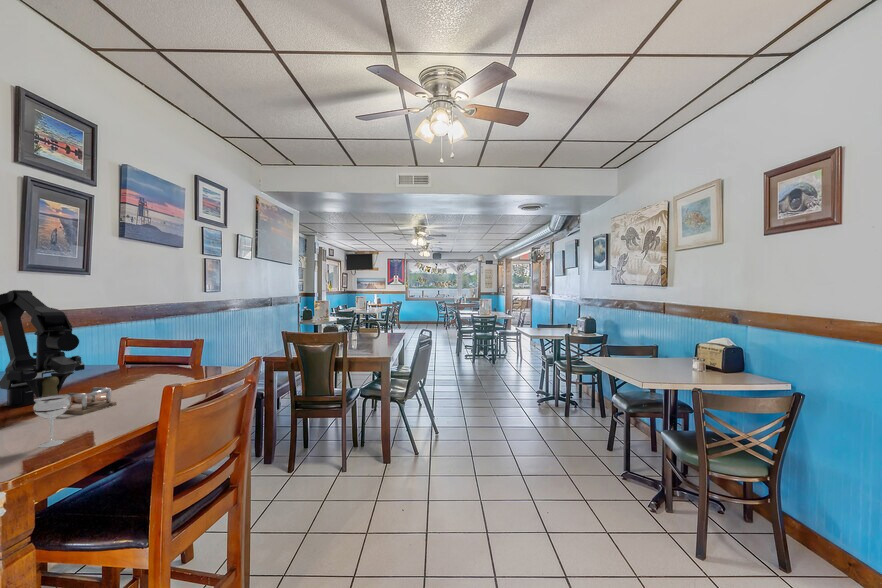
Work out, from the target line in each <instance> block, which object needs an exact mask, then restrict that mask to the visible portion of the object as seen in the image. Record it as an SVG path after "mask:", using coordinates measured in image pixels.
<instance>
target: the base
mask: <svg viewBox="0 0 882 588" xmlns="http://www.w3.org/2000/svg"><path fill="white" fill-rule="evenodd" d="M113 405H114V406H117V401H111V403H106V400H103V401H96V402H91V401H90V402H87V410H82V407H75V406H71V408H70V409H68V410H66V411H65V412H64V413H63V414H74V415H86V413H87V414H90V413H93V412H96V410H97V411H100V410H104V409H106V407H107V408H110V407H109V406H111V407H114V406H113ZM103 408H104V409H103Z"/></svg>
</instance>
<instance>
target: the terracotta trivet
mask: <svg viewBox="0 0 882 588" xmlns="http://www.w3.org/2000/svg"><path fill="white" fill-rule="evenodd" d="M111 396H112V393H111ZM105 399H106V393H102V394H98V395H96V401H101V400H103V401H106V400H105ZM90 401H91V396H90V397H87V402H90ZM74 402H75V403H79V404H82V398H80V397H74Z"/></svg>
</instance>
